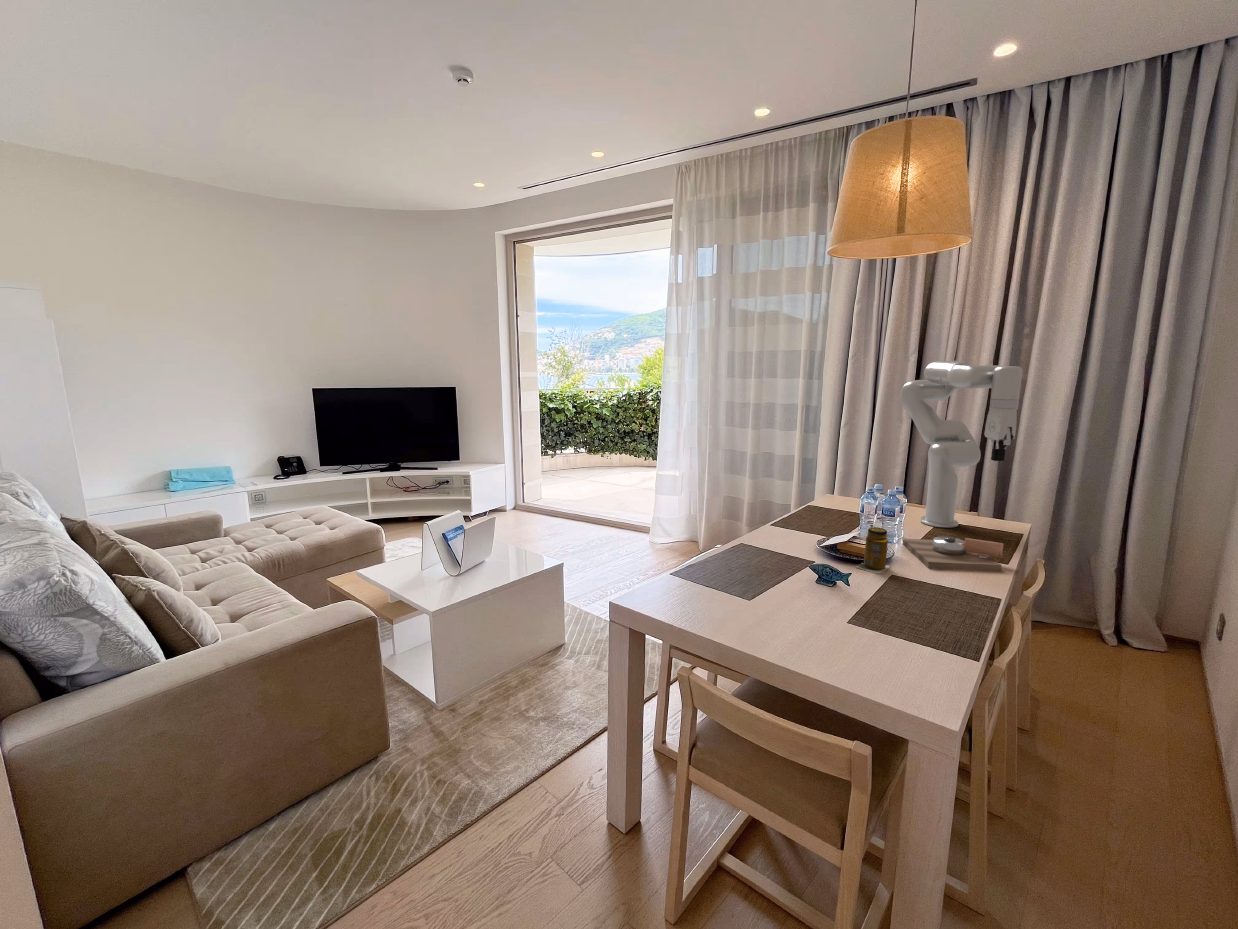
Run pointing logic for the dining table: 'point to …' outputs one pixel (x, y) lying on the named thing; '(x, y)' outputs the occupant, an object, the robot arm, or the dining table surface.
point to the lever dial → (967, 546)
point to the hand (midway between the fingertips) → (997, 460)
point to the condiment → (875, 551)
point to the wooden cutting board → (949, 557)
